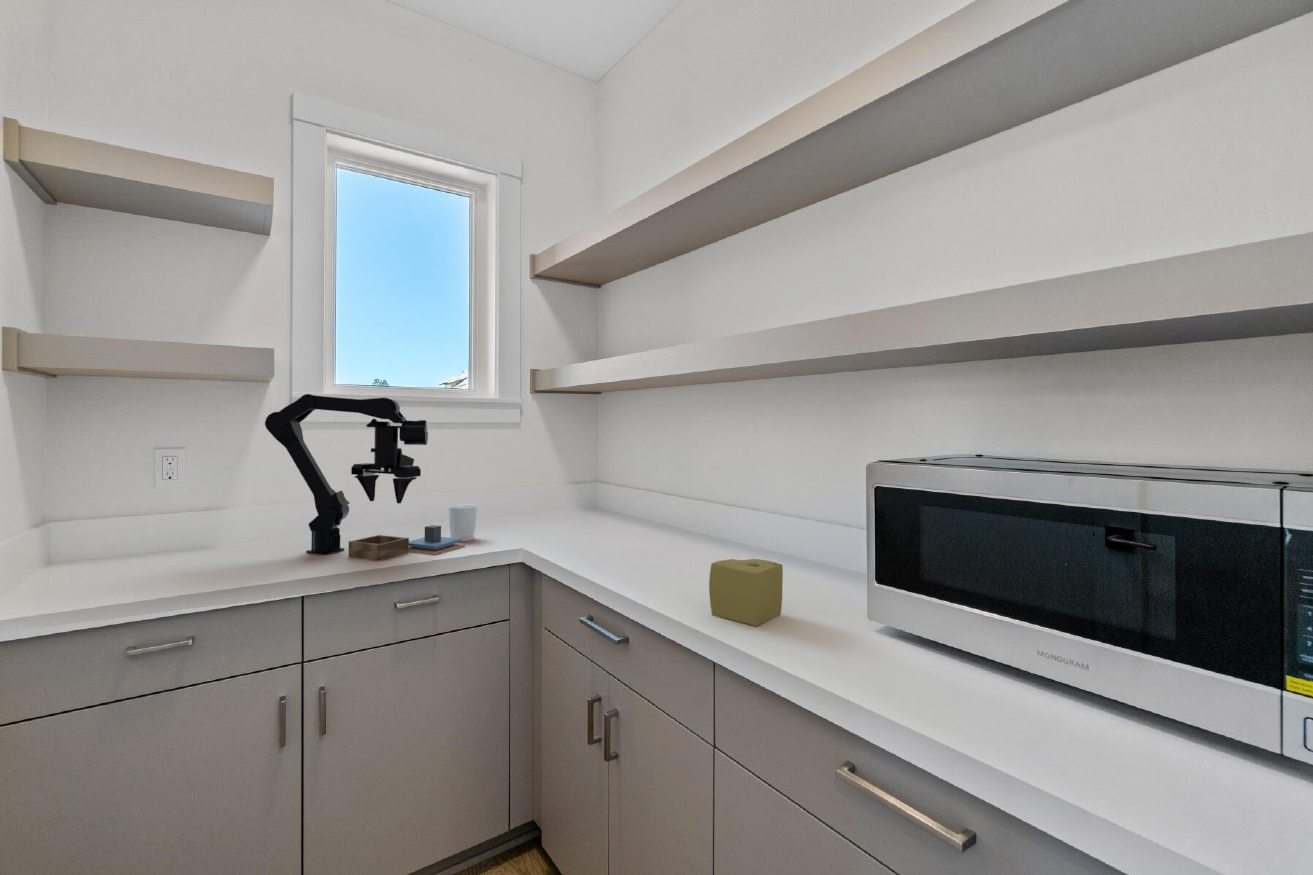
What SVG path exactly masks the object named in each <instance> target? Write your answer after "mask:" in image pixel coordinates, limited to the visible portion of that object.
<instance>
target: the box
mask: <svg viewBox="0 0 1313 875" xmlns="http://www.w3.org/2000/svg"><path fill="white" fill-rule="evenodd" d="M409 541H410V538H409V537H403V536H392V535H384V534H377V535H372V536H367V537H363V538H359V539H354V540H349V541H348V558H351V559H352V558H353V559H361V560H370V561H377V562H381V561H384V560H387V559H388V560H389V559H391V558H396V557H399V556H403V555H407V554H409V553H410V552H409Z"/></svg>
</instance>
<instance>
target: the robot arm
mask: <svg viewBox="0 0 1313 875" xmlns="http://www.w3.org/2000/svg"><path fill="white" fill-rule="evenodd" d="M400 408H401V407H400V405H399V402H397V401H396V400H395V399H394V398H388V397H377V398H376V397H375V398H363V399H362V398H361V399H355V398H345V397H335V396H334V397H333V396H324V395H315V394H312V393H305V394H302V396H301V397H299V398H298V399H297V400H295V401H293V402H291V403H290V404H289V405H286V406H285V407H284V408H282V409H280V410H279V411H274V412H271V413H269V414H268V415H267V416H266V419H265V421H264V426H265V429H266V430H267V431H268V432H269V433H270V434H271V436H272V437H273V438H274V439H275V440H276V441H277V442H278V443H280V444H281V446H283V447H284V448H285V449H286V450H287V452H288V455H290V457H291V459H292V461H293V463H294V465H295V466H296V468H297V469H298V471H299V473H300V474H301V476H302V479H303V480H304V481H305V483H306V485H307V487H308V488H309V489H310V491H311V494H312V496H313V499H314V505H315V506H314V508H315V510H316V512H317V513H316V514H317V516H316V517H314V519H312V520H311V521H310V522H308V527H309V531H310V532H311V549H308V550H306V551H305V553H306V554H313V555H314V554H315V555H322V556H323V555H325V556H326V555H329V554H333V553H334V554H335V553H337V552H342V551H345V548H344V547H341V533H340V532H341V530H340V528H339V526H341V523H342V521H343V520H344V519H346V518H347V517H348V516H349V512H350V507H349V505H350V504H351V503H350V501H348V499H347V498H346V497H345V494H344V492H343V490H339V491H336V490H334V489H333V488H332V486H330V484H329V481H327V478H326V477H325V475H324V473H323V472H322V470H321V468H320V467H319V465H318V463H317V461H316V460H315V458H314V456H313V454H312V453H311V451H310V449H309V448H308V446H307V444H306V442H305V441H304V435H303V429H302V426H301V424H300V423H301V422H302V421H305V419H306V418H307V417H309V415H310V414H312V412H314V411H315V410H322V411H332V412H343V413H344V412H346V413H356V414H361V415H365V416H370V417H373V418H372V419H371V421H370V422H368V423H366V425H365V426H366V428H374V447H370V452H371V453H374V457H373V458H374V460H373V461H374V462H373V463H371V462H370V463H368V462H365V463H364V462H363V463H354V464H353V465H352V466H351V467H350V468H351V470H350V472H351V475H353V476H354V479H355V478H356V479H357V481H358V482H359V484H360V485H361V487H362V488H363V491H364V492H365V494H366V496H367V499H368V500H369V502H374V501H375V498H376V484H377V483H376V482H377V479H378V478H379V477H380V474H386V475H394V477H395V478H392V482H393V490H394V495H395V500H396V504H401V503H402V501H403V500H404V496H405V494H406V492H407V489H408V488H409V486H410V483H412V482H413V481H415V480H417V478H418V477H421V474H422V472H421V470H422V469H421V468H420V466H419V465H414V463H415V459H414V458H413V457H411V456H409V455H406V454H403V450H402V447H399V446H398V444H399V441H400V442H403V444H404V445H405V446H406V445H407V446H408V445H409V446H427V445H428V440H429V431H428V426H427V420H426V419H425V420H424V419H421V420H407V419H406V417H405V415H403V414H402V412H401V411H400ZM377 418H378V419H380V420H381V419H382V420H388V421H380V420H379V421H378V419H377ZM390 422H392V423H393V424H401V425H391V423H390Z"/></svg>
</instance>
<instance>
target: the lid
mask: <svg viewBox="0 0 1313 875" xmlns="http://www.w3.org/2000/svg"><path fill="white" fill-rule="evenodd" d="M461 542H462V541H461V539H456V538H450V537H444V536H442V525H437V524H435V525H434V524H431V525H426V526H424V537H421V538H417V539H412V540H409V546H411V548H416V549H425V550H434V551H435V550H438V549H442V548H445V547H449V546H452V545H453V544H455V543H457V544H460V543H461Z"/></svg>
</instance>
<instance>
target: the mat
mask: <svg viewBox="0 0 1313 875" xmlns="http://www.w3.org/2000/svg"><path fill="white" fill-rule="evenodd" d="M464 547H466V544H464V543H455V544H453V545H452V546H449V547H445V548H442V549H438V550H435V551H434V550H425V549H416V548H411V546H409V553H412V554H413V553H414V554H425V555H432V556H438V555H441V554H443V553H447V552H448V553H449V552H452V551H454V550H457V549H461V548H464Z"/></svg>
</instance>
